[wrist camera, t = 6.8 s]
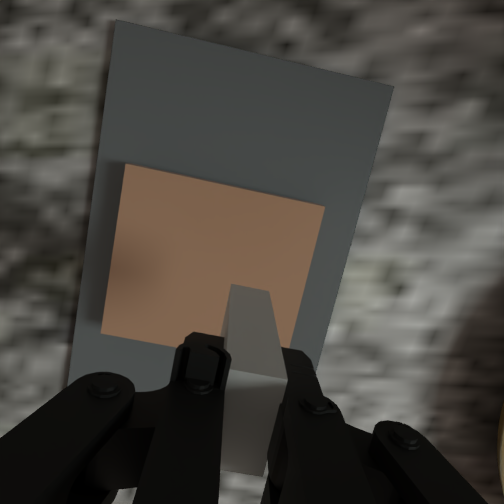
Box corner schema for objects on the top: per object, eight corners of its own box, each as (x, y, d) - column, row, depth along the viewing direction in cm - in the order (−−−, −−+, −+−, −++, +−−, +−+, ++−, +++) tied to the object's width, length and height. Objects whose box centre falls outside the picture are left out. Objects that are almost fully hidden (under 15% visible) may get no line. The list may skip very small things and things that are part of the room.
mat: (118, 21, 21) (115, 19, 20) (391, 87, 22) (394, 86, 21) (65, 414, 25) (63, 417, 25) (291, 452, 26) (292, 456, 26)
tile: (320, 203, 22) (132, 162, 22) (325, 206, 21) (125, 163, 20) (281, 355, 24) (108, 323, 24) (284, 367, 23) (100, 333, 22)
